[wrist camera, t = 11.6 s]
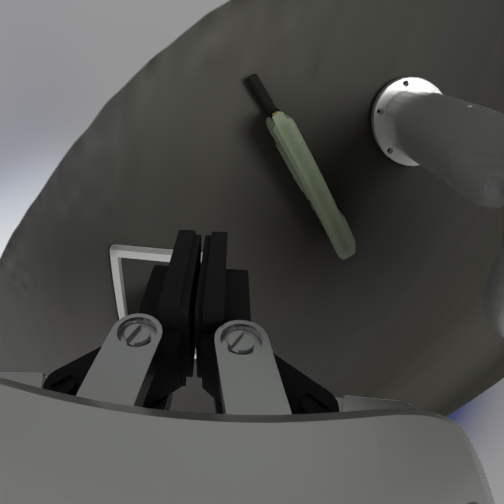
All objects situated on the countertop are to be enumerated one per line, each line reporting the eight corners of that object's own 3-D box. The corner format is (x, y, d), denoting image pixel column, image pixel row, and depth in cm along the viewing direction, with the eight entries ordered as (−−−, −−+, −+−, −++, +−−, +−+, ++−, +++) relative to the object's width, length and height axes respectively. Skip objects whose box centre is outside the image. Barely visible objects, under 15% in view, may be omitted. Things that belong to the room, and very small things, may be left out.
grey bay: (213, 253, 47) (212, 258, 46) (205, 353, 59) (205, 359, 57) (112, 244, 45) (109, 249, 44) (126, 344, 57) (125, 350, 55)
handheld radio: (324, 238, 47) (237, 82, 35) (344, 227, 46) (261, 69, 34) (338, 263, 41) (240, 83, 29) (360, 251, 40) (269, 68, 28)
